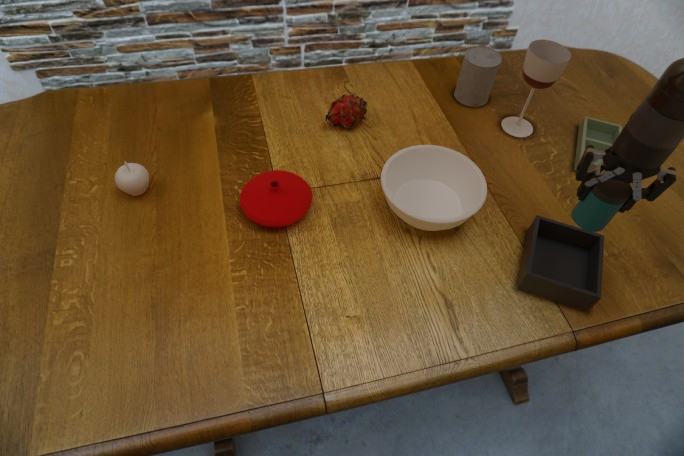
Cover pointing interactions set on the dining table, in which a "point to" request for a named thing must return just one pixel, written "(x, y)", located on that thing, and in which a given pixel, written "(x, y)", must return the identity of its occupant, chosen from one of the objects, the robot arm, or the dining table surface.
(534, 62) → the wineglass
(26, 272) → the dining table surface
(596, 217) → the travel mug
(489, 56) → the gray cylinder
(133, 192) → the plain white apple
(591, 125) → the green divided tray
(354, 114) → the dragon fruit
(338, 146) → the dining table surface
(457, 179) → the bowl
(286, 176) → the red disc with nozzle
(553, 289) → the dark grey open box
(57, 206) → the dining table surface
